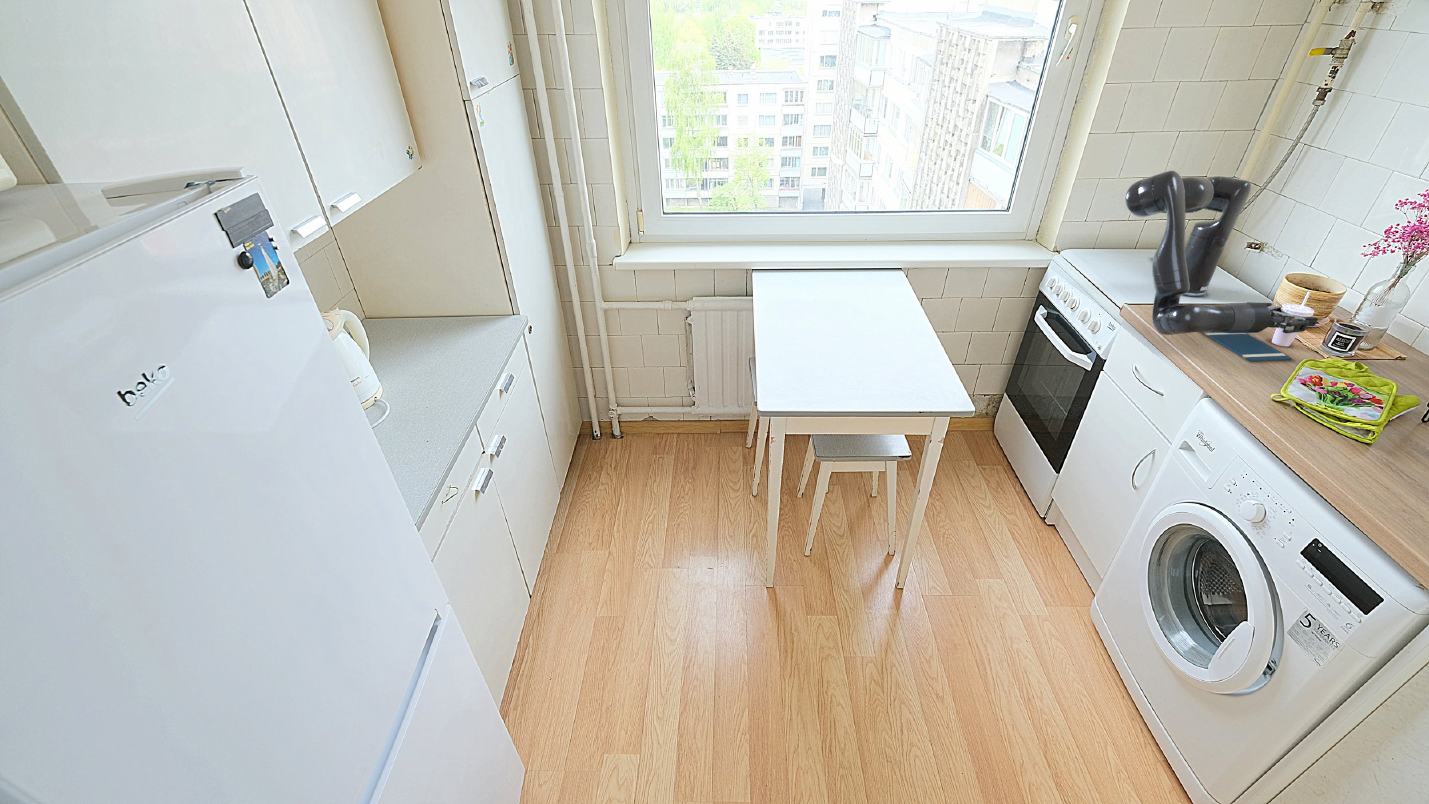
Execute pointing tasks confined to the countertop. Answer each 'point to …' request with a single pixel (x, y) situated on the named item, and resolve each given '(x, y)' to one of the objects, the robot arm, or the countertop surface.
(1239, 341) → the tea towel
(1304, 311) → the smoothie
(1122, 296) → the countertop surface
